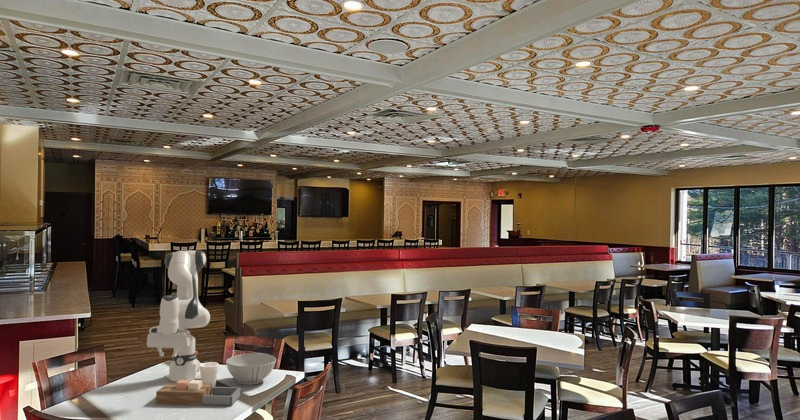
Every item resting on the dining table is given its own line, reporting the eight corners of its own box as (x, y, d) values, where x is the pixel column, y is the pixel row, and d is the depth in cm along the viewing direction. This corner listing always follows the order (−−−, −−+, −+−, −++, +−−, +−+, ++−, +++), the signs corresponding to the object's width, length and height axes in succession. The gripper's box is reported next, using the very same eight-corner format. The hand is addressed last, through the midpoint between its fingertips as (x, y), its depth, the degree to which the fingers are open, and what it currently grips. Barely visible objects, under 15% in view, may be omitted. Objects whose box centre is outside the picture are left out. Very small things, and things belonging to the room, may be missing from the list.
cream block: (192, 386, 265) (192, 380, 265) (202, 386, 265) (202, 380, 265) (188, 389, 260) (188, 383, 260) (198, 389, 260) (198, 383, 260)
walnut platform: (168, 394, 270) (168, 382, 270) (211, 395, 270) (212, 383, 270) (155, 404, 256) (156, 391, 256) (201, 405, 256) (202, 392, 256)
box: (212, 395, 270) (213, 386, 270) (240, 396, 270) (240, 387, 270) (202, 405, 256) (202, 395, 256) (231, 406, 256) (231, 396, 256)
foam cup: (198, 392, 274) (198, 367, 274) (199, 387, 282) (200, 362, 283) (217, 391, 276) (218, 366, 276) (218, 386, 285) (219, 361, 285)
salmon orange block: (180, 385, 265) (180, 379, 265) (190, 386, 265) (190, 380, 265) (175, 388, 260) (176, 382, 260) (186, 389, 260) (186, 383, 260)
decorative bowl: (268, 390, 281) (268, 367, 281) (217, 388, 281) (218, 365, 281) (280, 375, 307) (281, 354, 308) (234, 373, 308) (235, 352, 308)
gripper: (192, 327, 266) (191, 355, 266) (151, 326, 266) (150, 354, 266) (187, 330, 260) (186, 358, 260) (145, 329, 260) (144, 357, 260)
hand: (168, 356), depth 263 cm, fingers open, 5 cm apart
